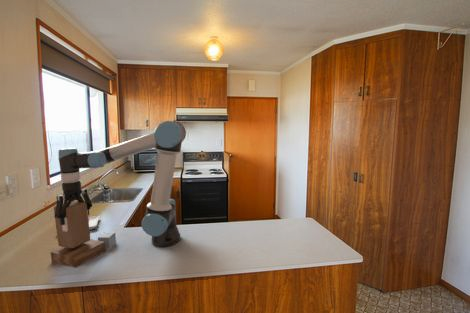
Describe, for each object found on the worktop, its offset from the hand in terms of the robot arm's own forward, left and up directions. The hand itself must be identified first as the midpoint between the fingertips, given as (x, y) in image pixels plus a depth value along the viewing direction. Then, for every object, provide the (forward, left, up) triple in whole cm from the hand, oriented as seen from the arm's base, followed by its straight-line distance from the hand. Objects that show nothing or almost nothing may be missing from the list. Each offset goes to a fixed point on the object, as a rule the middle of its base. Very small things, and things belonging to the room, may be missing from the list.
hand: (76, 226), depth 122 cm
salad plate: (+34, -27, -16) cm, 46 cm away
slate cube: (-4, -13, -15) cm, 20 cm away
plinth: (0, 0, -15) cm, 15 cm away
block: (+2, 0, -9) cm, 9 cm away
